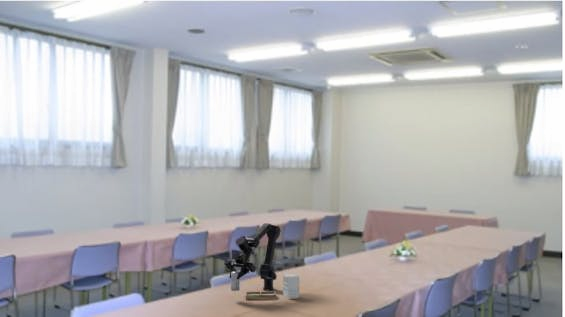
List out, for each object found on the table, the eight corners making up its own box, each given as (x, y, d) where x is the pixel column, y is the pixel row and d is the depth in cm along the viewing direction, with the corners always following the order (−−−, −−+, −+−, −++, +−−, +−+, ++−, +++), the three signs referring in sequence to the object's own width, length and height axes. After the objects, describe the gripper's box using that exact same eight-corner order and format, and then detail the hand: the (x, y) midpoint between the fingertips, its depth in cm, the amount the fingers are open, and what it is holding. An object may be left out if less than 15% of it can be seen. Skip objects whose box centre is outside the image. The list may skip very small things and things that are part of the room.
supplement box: (293, 295, 300) (293, 273, 301) (299, 298, 294) (299, 275, 294) (282, 296, 297) (282, 274, 298) (288, 299, 290) (288, 277, 291)
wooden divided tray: (245, 296, 298) (245, 291, 298) (275, 295, 299) (275, 291, 299) (245, 299, 289) (245, 295, 289) (276, 299, 290) (276, 294, 290)
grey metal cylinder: (231, 289, 288) (231, 271, 289) (239, 288, 289) (239, 271, 289) (230, 291, 284) (230, 272, 284) (239, 290, 284) (239, 272, 284)
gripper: (226, 245, 295) (214, 268, 285) (253, 248, 286) (241, 271, 276) (234, 257, 302) (222, 279, 292) (260, 260, 292) (249, 283, 282)
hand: (233, 278), depth 285 cm, fingers closed on grey metal cylinder, 5 cm apart
